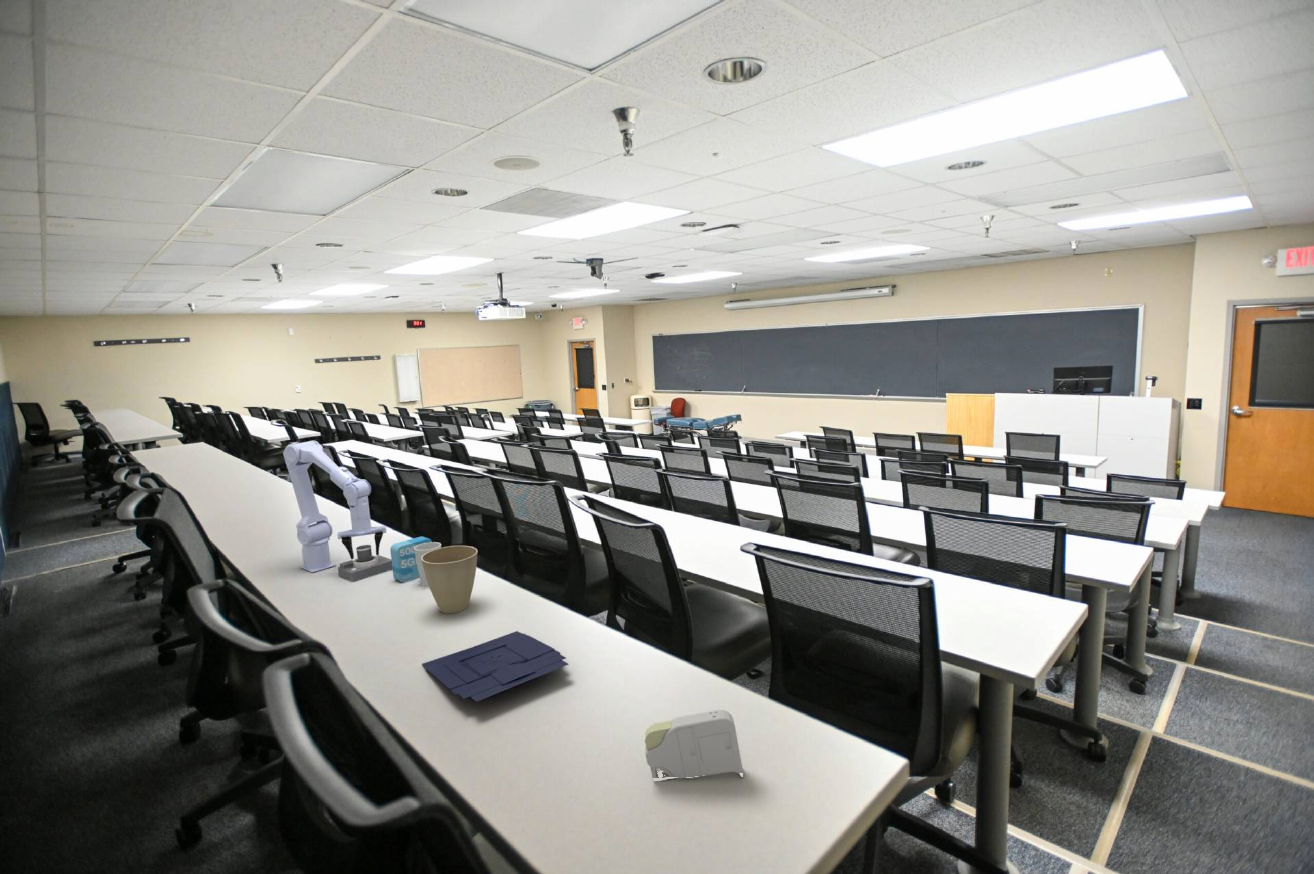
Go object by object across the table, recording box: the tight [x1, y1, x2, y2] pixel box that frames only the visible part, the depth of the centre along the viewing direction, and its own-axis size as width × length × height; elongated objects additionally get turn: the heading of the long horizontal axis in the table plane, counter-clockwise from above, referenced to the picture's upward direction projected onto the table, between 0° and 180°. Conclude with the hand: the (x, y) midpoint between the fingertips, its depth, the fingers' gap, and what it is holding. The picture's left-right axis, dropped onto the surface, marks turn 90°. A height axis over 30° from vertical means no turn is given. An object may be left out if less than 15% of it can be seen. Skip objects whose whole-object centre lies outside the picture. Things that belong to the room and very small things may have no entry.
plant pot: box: [421, 545, 478, 614], centre depth 168 cm, size 15×15×16 cm
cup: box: [414, 541, 442, 588], centre depth 189 cm, size 8×8×12 cm
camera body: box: [337, 555, 393, 583], centre depth 201 cm, size 10×14×4 cm
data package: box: [389, 536, 433, 583], centre depth 195 cm, size 12×4×12 cm, turn 140°
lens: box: [355, 544, 373, 563], centre depth 200 cm, size 4×4×6 cm
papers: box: [421, 630, 570, 703], centre depth 134 cm, size 24×30×4 cm
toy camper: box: [644, 709, 744, 779], centre depth 98 cm, size 11×3×15 cm
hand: (365, 556), depth 201 cm, fingers open, 7 cm apart
